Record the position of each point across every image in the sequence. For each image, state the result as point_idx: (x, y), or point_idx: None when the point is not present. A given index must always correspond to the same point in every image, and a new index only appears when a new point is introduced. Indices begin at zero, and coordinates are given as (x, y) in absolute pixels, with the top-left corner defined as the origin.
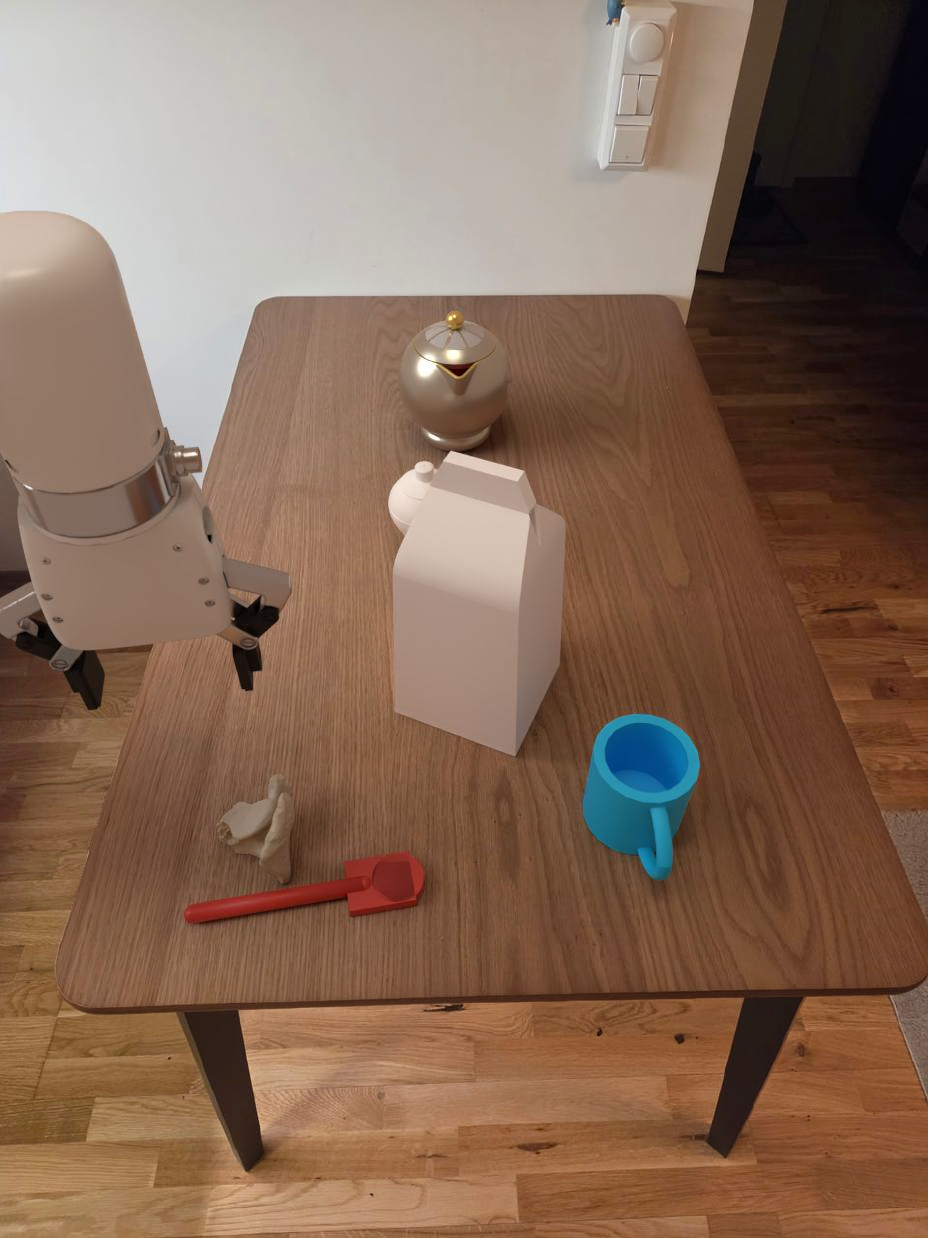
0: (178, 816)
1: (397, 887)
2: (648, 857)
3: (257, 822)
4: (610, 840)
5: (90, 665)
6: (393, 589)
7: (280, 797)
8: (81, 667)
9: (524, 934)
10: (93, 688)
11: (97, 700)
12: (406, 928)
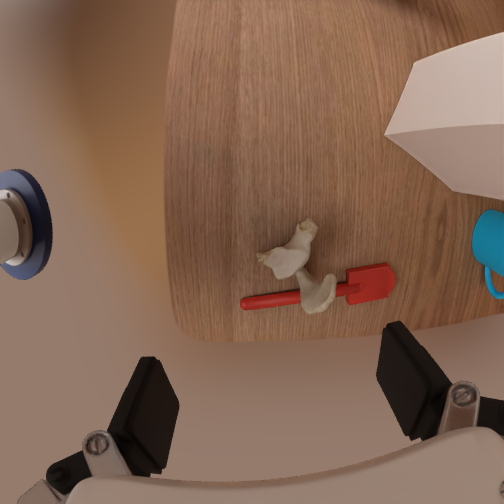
0: (216, 224)
1: (379, 290)
2: (488, 272)
3: (295, 267)
4: (479, 260)
5: (156, 432)
6: (494, 124)
7: (332, 292)
8: (158, 465)
9: (429, 306)
10: (171, 427)
11: (176, 412)
12: (376, 306)
